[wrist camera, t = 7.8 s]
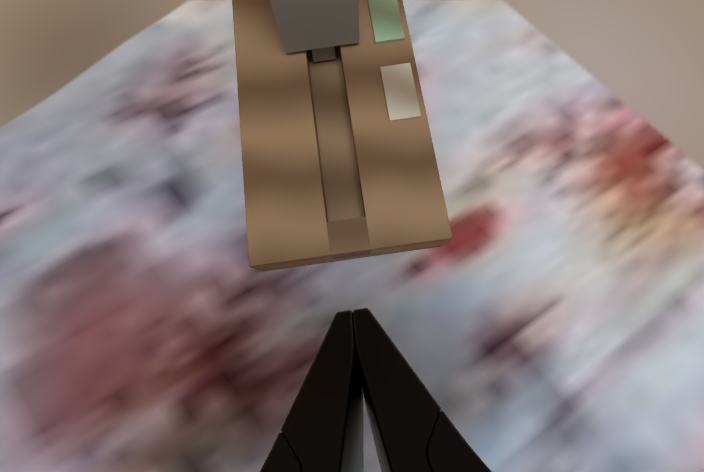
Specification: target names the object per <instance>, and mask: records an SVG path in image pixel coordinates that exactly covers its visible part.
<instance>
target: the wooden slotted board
mask: <svg viewBox="0 0 704 472" xmlns="http://www.w3.org/2000/svg"><path fill="white" fill-rule="evenodd" d="M232 4H233V20H234V35H235V51H236V67H237V82H238V98H239V114H240V130H241V145H242V161H243V177H244V192H245V208H246V224H247V240H248V255H249V266H250V267H252V268H255V269H257V270H260V271H268V270H276V269H283V268H290V267H297V266H304V265H311V264H318V263H326V262H333V261H340V260H347V259H354V258H361V257H368V256H375V255H383V254H390V253H397V252H404V251H411V250H418V249H425V248H433V247H440V246H443V245H444V244H446V243H447V242H448V241H449V240H450V239H452V234H451V229H450V224H449V219H448V215H447V210H446V205H445V200H444V196H443V191H442V186H441V181H440V177H439V172H438V167H437V163H436V158H435V153H434V148H433V144H432V139H431V134H430V129H429V125H428V120H427V115H426V110H425V106H424V101H423V96H422V91H421V87H420V82H419V77H418V73H417V68H416V63H415V58H414V54H413V49H412V44H411V39H410V35H409V30H408V25H407V20H406V16H405V11H404V6H403V1H402V0H359V43H353V44H346V45H340V46H334V49H335V57H336V59H332V60H325V61H318V62H314V60H313V55H312V50H305V51H298V52H291V53H286V52H285V49H284V45H283V42H282V39H281V35H280V32H279V29H278V26H277V22H276V19H275V16H274V12H273V9H272V6H271V3H270V0H232Z"/></svg>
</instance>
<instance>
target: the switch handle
mask: <svg viewBox="0 0 704 472" xmlns="http://www.w3.org/2000/svg"><path fill="white" fill-rule="evenodd" d="M270 3H271V6H272V9H273V12H274V16H275V19H276V22H277V26H278V29H279V32H280V35H281V39H282V42H283V45H284V49H285V52H286V53H291V52H298V51H305V50H312V55H313V60H314V62H318V61H325V60H332V59H336V57H335V49H334V46H340V45H346V44H353V43H359V0H270Z"/></svg>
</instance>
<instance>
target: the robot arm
mask: <svg viewBox="0 0 704 472" xmlns="http://www.w3.org/2000/svg"><path fill="white" fill-rule="evenodd" d="M362 388H363V389H362ZM363 393H364V399H365V403H366V408H367V412H368V416H369V420H370V425H371V429H372V433H373V437H374V441H375V446H376V450H377V454H378V458H379V462H380V467H381V471H382V472H491V470H490V469H489V468H488V467H487V466H486V465H485V464H484V462H483V461H482V460H481V459H480V458H479V457H478V455H477V454H476V453H475V452H474V451H473V450H472V448H471V447H470V446H469V445H468V443H467V442H466V441H465V439H464V438H463V437H462V436H461V434H460V433H459V432H458V430H457V429H456V428H455V427H454V425H453V424H452V422H451V421H450V420H449V418H448V417H447V416H446V414H445V413H444V412H443V411H441V408H440V406H439V405H438V404H437V402H436V401H435V399H434V398H433V397H432V395H431V394H430V393H429V391H428V390H427V388H426V387H425V386H424V384H423V383H422V382H421V380H420V379H419V377H418V376H417V375H416V373H415V372H414V371H413V369H412V368H411V367H410V365H409V364H408V362H407V361H406V360H405V358H404V357H403V356H402V354H401V353H400V351H399V350H398V349H397V347H396V346H395V345H394V343H393V342H392V340H391V339H390V338H389V336H388V335H387V334H386V332H385V331H384V329H383V328H382V327H381V325H380V324H379V323H378V321H377V320H376V319H375V317H374V316H373V314H372V313H371V312H370V310H369V309H367V308H364V309H357V310H354V311H353V313H352V311H343V312H338V313H336V315H335V317H334V319H333V321H332V323H331V325H330V328H329V330H328V332H327V334H326V336H325V338H324V340H323V342H322V344H321V346H320V349H319V351H318V353H317V355H316V357H315V359H314V361H313V363H312V365H311V368H310V370H309V372H308V374H307V376H306V378H305V380H304V382H303V384H302V386H301V389H300V391H299V393H298V395H297V397H296V399H295V401H294V403H293V405H292V408H291V410H290V412H289V414H288V416H287V418H286V420H285V422H284V424H283V427H282V429H281V432H282V433H279V435H278V437H277V439H276V441H275V443H274V445H273V447H272V449H271V451H270V453H269V455H268V457H267V459H266V461H265V463H264V465H263V467H262V469H261V471H260V472H363Z"/></svg>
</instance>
